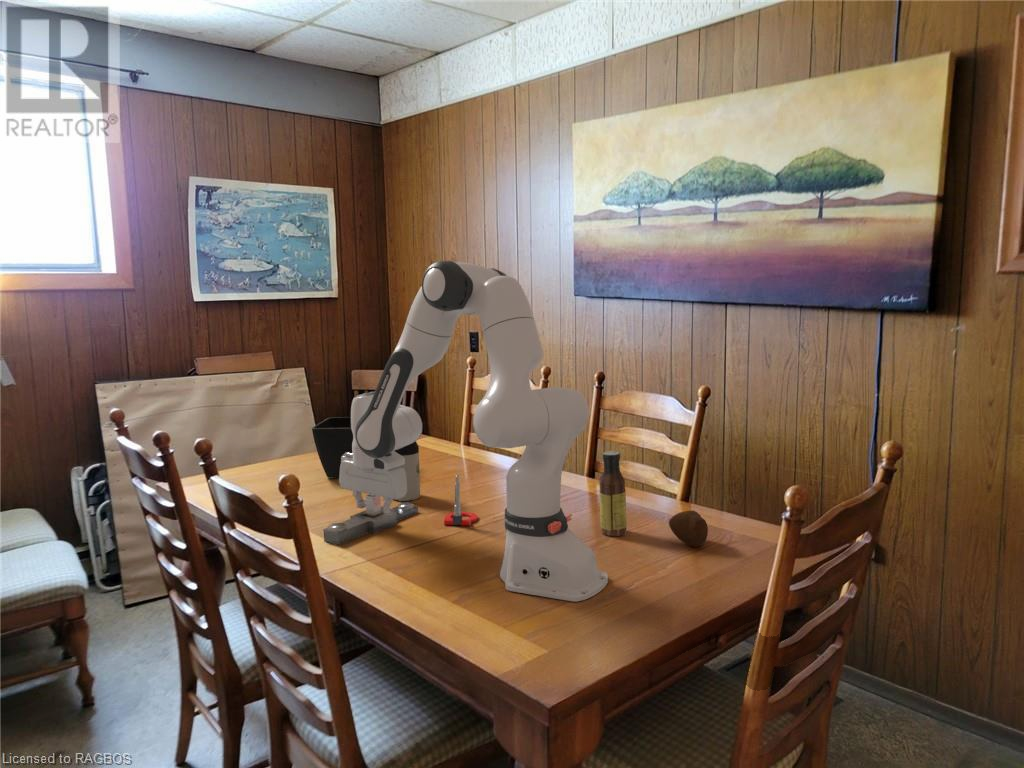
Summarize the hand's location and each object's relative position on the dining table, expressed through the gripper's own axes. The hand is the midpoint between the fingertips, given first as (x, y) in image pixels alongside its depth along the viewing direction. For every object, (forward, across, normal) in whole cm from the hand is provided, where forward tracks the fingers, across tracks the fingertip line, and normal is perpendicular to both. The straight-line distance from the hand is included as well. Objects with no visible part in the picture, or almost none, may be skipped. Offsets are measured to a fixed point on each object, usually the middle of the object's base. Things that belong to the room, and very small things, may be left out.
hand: (373, 510), depth 181 cm
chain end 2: (+4, 0, +5) cm, 6 cm away
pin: (+4, 0, 0) cm, 4 cm away
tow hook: (+4, +16, +15) cm, 22 cm away
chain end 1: (+4, 0, -5) cm, 6 cm away
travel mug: (+4, -9, +22) cm, 24 cm away
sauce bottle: (+4, +53, +27) cm, 60 cm away
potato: (+4, +71, +30) cm, 77 cm away
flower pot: (+4, -41, +32) cm, 52 cm away
